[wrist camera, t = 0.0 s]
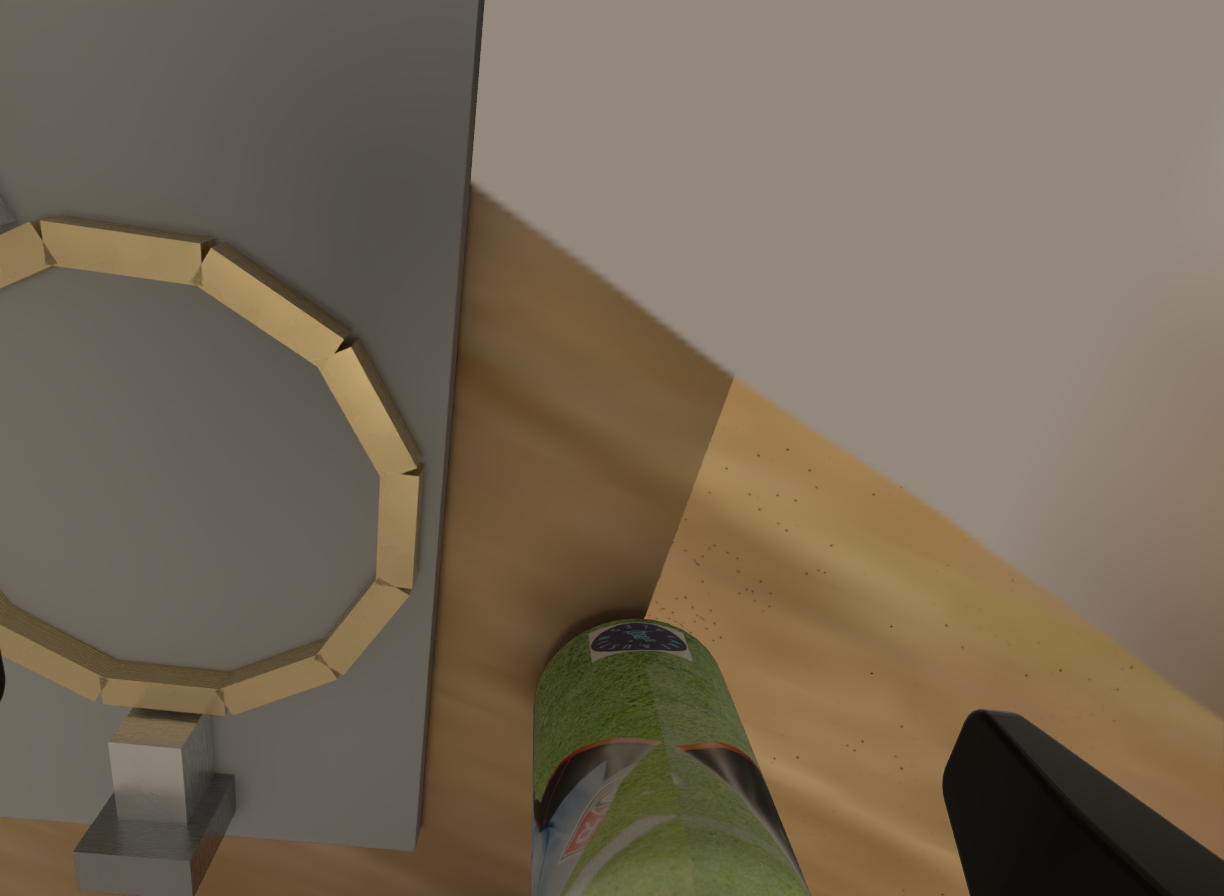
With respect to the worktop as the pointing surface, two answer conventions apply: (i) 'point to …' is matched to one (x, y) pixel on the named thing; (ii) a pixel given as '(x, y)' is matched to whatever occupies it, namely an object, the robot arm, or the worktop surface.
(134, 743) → the tan curved band
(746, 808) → the beverage can
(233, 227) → the base
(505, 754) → the worktop surface
